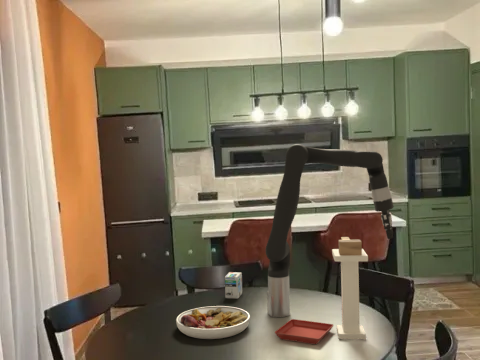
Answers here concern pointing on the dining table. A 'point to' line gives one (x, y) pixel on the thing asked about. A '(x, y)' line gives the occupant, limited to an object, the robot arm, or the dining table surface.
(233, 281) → the light bulb box
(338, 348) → the dining table surface
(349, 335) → the tall stand
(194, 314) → the bowl
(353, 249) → the beech mallet
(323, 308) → the dining table surface
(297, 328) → the plant saucer
